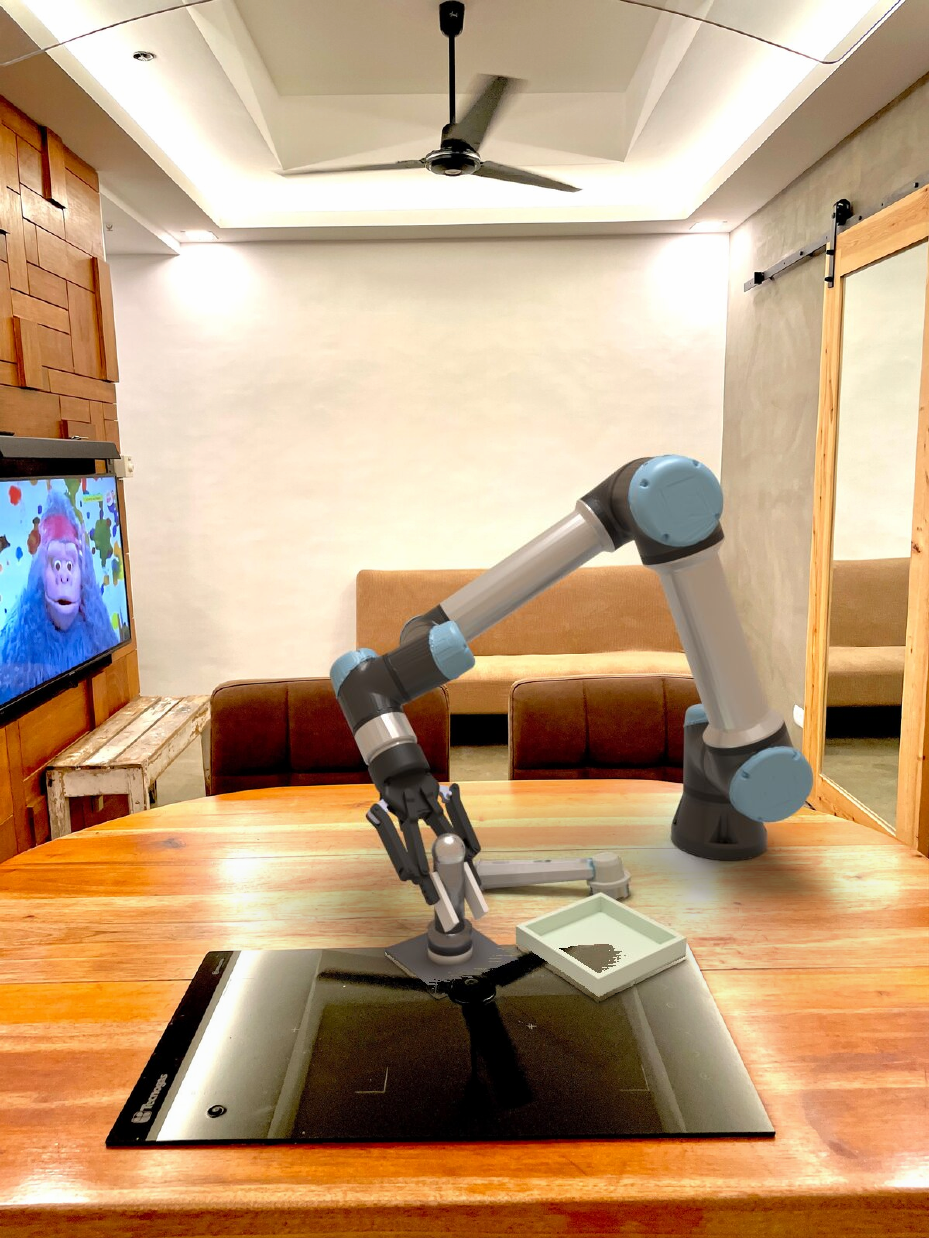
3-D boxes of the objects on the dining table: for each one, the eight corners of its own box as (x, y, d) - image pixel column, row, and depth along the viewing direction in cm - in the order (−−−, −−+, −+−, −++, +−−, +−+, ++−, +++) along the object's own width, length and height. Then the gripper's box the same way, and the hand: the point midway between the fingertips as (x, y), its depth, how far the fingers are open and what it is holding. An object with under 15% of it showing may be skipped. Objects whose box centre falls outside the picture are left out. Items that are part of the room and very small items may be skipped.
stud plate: (461, 926, 118) (461, 911, 117) (517, 965, 108) (517, 949, 108) (384, 955, 111) (384, 939, 110) (437, 1000, 101) (436, 982, 101)
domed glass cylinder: (455, 928, 113) (453, 821, 110) (481, 946, 108) (480, 836, 106) (419, 941, 110) (416, 832, 107) (444, 961, 105) (441, 847, 103)
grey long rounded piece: (457, 855, 131) (625, 840, 127) (464, 896, 132) (631, 883, 128) (452, 870, 126) (627, 856, 122) (459, 913, 127) (633, 900, 123)
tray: (600, 912, 121) (600, 892, 120) (685, 959, 109) (686, 937, 108) (516, 947, 112) (515, 925, 112) (598, 1002, 100) (598, 978, 100)
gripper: (435, 756, 123) (508, 912, 112) (327, 782, 113) (396, 954, 103) (455, 728, 118) (535, 889, 107) (344, 752, 108) (419, 931, 98)
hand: (467, 920), depth 105 cm, fingers closed on domed glass cylinder, 4 cm apart
